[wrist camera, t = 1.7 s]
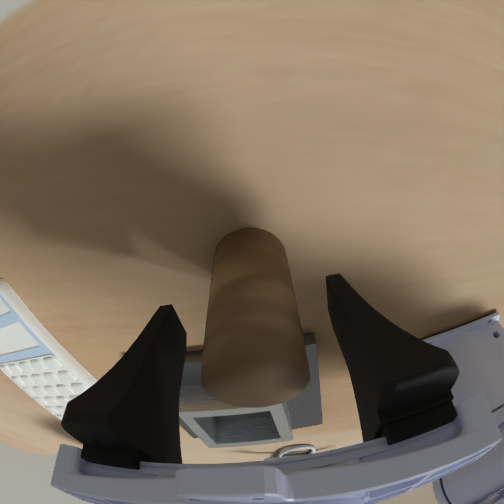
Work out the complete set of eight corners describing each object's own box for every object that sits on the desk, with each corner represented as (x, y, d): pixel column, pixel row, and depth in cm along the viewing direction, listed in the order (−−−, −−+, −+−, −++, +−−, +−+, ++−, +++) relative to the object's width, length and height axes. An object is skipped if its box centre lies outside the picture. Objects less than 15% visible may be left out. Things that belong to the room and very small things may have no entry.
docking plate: (313, 332, 21) (322, 372, 18) (320, 415, 28) (325, 444, 25) (132, 357, 22) (122, 393, 19) (193, 430, 29) (191, 457, 26)
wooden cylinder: (279, 221, 16) (305, 339, 9) (290, 280, 18) (313, 399, 11) (205, 236, 16) (183, 357, 9) (224, 292, 18) (218, 411, 12)
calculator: (65, 412, 30) (62, 424, 29) (-44, 303, 20) (-52, 315, 18) (139, 410, 28) (136, 424, 26) (4, 269, 18) (-8, 284, 16)
